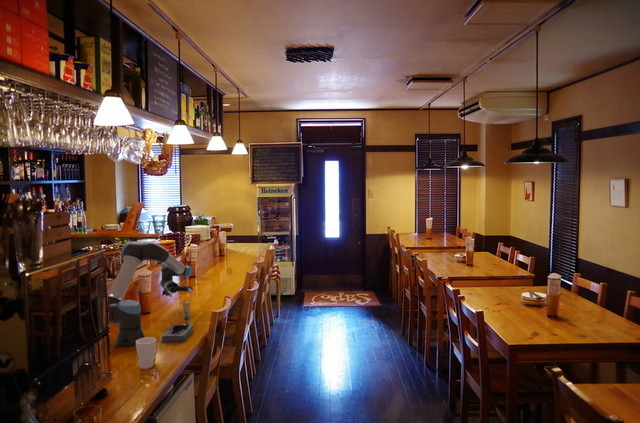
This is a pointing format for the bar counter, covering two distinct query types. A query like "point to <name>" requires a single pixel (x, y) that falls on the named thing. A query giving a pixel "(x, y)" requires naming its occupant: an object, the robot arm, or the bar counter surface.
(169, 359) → the bar counter surface
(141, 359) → the foam cup
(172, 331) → the keyhole plate
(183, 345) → the bar counter surface
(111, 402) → the bar counter surface
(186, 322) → the brass post
